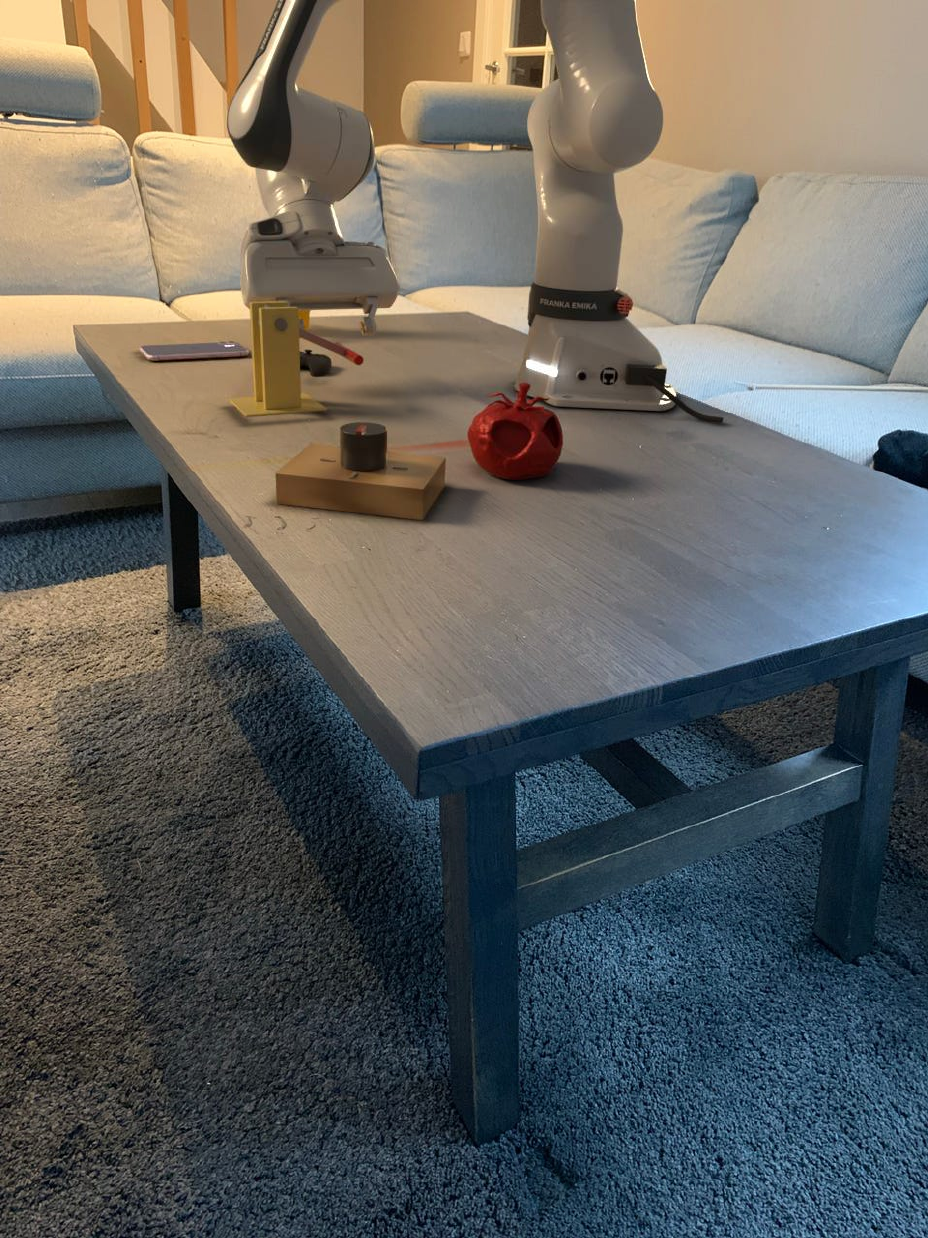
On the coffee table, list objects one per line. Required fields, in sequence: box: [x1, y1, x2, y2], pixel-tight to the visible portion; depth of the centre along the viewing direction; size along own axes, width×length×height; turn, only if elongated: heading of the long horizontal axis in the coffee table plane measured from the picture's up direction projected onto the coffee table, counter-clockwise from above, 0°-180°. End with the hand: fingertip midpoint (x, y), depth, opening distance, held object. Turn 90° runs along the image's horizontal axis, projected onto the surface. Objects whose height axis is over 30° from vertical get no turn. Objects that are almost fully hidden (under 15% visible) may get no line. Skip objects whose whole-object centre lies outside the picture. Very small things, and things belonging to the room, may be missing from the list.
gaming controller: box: [300, 349, 333, 378], centre depth 136 cm, size 10×5×6 cm
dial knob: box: [339, 421, 388, 471], centre depth 91 cm, size 4×4×4 cm
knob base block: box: [275, 442, 447, 521], centre depth 93 cm, size 14×10×3 cm
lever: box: [258, 305, 365, 366], centre depth 116 cm, size 12×8×2 cm, turn 117°
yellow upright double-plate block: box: [228, 301, 328, 418], centre depth 115 cm, size 10×8×13 cm
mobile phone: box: [139, 340, 250, 362], centre depth 144 cm, size 8×1×15 cm
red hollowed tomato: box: [466, 383, 564, 481], centre depth 100 cm, size 10×10×9 cm
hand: (335, 334), depth 121 cm, fingers open, 8 cm apart
